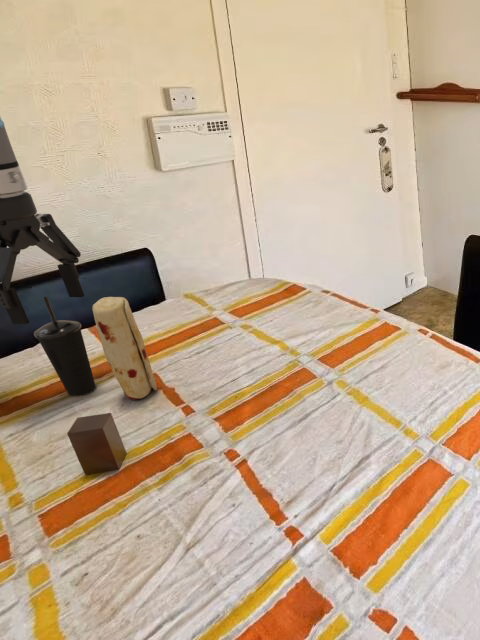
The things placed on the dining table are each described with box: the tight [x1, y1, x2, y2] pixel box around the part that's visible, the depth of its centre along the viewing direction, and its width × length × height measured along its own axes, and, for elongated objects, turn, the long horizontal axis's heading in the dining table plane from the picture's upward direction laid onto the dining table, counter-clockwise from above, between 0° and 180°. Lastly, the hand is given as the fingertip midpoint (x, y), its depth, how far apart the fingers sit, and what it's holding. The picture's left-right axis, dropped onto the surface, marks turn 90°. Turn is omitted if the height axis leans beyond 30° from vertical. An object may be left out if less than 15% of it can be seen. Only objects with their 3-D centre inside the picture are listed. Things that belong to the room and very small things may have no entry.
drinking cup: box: [33, 296, 97, 397], centre depth 121 cm, size 8×8×20 cm
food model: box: [91, 296, 158, 401], centre depth 120 cm, size 10×7×20 cm
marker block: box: [66, 412, 127, 476], centre depth 101 cm, size 5×5×8 cm
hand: (50, 309), depth 118 cm, fingers open, 13 cm apart
